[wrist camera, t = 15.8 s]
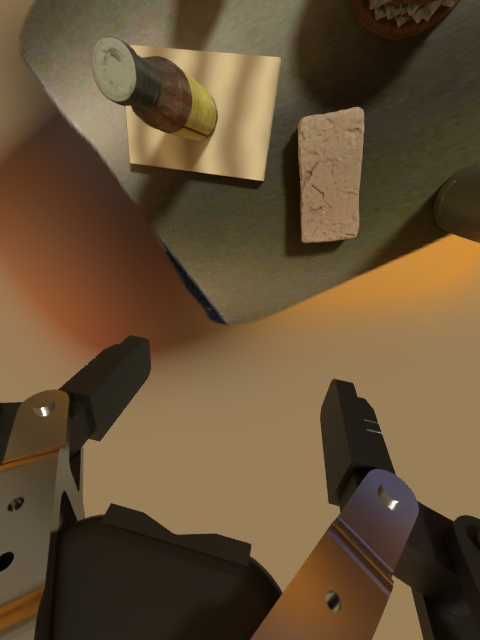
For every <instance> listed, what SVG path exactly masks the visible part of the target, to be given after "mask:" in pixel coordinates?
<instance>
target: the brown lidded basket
mask: <svg viewBox="0 0 480 640" xmlns="http://www.w3.org/2000/svg"><path fill="white" fill-rule="evenodd" d="M459 1H460V0H351V2H352V5H353V7H354V10H355V12H356V15H357V18H358V20H359V21H360V22H361V23H362V24H363V25H364V26H365V27H366V28H367V29H368V30H369V31H370V32H371V33H372V34H373V35H375V36H379V37H382V38H386V39H390V40H398V39H403V38H408V37H413V36H417V35H418V34H420V33H422V32H423V31H425V30H426V29H428V28H430V27H431V26H433V25H434V24H436V23H438V22H439V21H441V20H442V19H443V18H444V16H445V15H446V14H447V13H448V12H449V11H450V10H451V9H452V8H453V7H454V6H455V5H456V4H457V3H458V2H459Z"/></svg>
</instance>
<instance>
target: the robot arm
mask: <svg viewBox="0 0 480 640" xmlns="http://www.w3.org/2000/svg"><path fill="white" fill-rule="evenodd" d="M433 216H434V219H435V222H436V223H437V225H438V226H439V227H440V228H441V229H443V230H444V231H446V232H449V233H451V234H454V235H457V236H460V237H463V238H466V239H469V240H472V241H475V242H478V243H480V164H477V165H473V166H470V167H467V168H465V169H463V170H461V171H459V172H458V173H456V174H455V175H453V176H452V177H451V178H450V179H449V180H448V181H446V182H445V184H444V185H443V186H442V188H441V189H440V190H439V192H438V194H437V196H436V199H435V201H434V206H433ZM150 369H151V360H150V344H149V340H148V339H147V338H142V337H137V336H133V335H130V336H128V337H127V338H126V339H125V340H124V341H123V342H122V343H121V344H115V345H113V346H110V347H108V348H106V349H104V350H103V351H102V352H101V353H100V354H98V355H97V356H96V358H95V359H93V360H92V361H90V362H89V363H88V365H86V366H85V367H84V368H82V369H81V370H80V371H79V372H78V373H77V374H76V375H74V376H73V377H72V378H71V379H70V380H69V381H68V382H66V383H65V384H64V385H63V386H62V387H61V388H59V389H58V390H47V391H43V392H40V393H37V394H35V395H33V396H31V397H29V398H28V399H26V400H25V401H24V402H17V403H0V640H372V638H373V635H374V633H375V631H376V628H377V626H378V624H379V621H380V619H381V617H382V614H383V612H384V609H385V607H386V604H387V602H388V599H389V597H390V595H391V592H392V588H393V580H392V579H391V578H392V575H394V576H395V577H397V578H398V579H400V580H401V581H403V582H404V583H406V584H407V585H409V586H410V587H411V589H412V593H413V598H414V602H415V606H416V610H417V614H418V618H419V623H420V627H421V631H422V635H423V639H424V640H480V519H478V518H475V517H472V516H468V515H464V516H460V517H458V518H457V519H456V520H455V521H452V520H450V519H448V518H446V517H444V516H443V515H441V514H439V513H437V512H435V511H434V510H432V509H430V508H428V507H426V506H424V505H423V504H421V503H420V502H418V501H417V499H416V497H415V495H414V493H413V492H412V490H411V489H410V488H409V487H408V485H407V484H406V483H405V482H404V481H403V480H402V479H400V478H399V477H398V476H396V474H395V471H394V468H393V466H392V462H391V459H390V456H389V454H388V450H387V447H386V445H385V442H384V439H383V436H382V434H381V430H380V427H379V424H378V421H377V418H376V415H375V412H374V410H373V408H372V407H371V406H370V405H369V403H368V402H367V401H366V400H365V399H364V398H359V397H357V394H356V391H355V387H354V384H353V383H351V382H346V381H341V380H337V379H333V380H332V381H331V384H330V386H329V389H328V391H327V394H326V397H325V400H324V402H323V405H322V408H321V415H320V422H321V431H322V441H323V451H324V461H325V471H326V480H327V489H328V501H329V504H333V505H337V506H340V514H339V515H338V517H337V518H336V519H335V521H333V522H332V524H331V525H330V527H329V528H328V529H327V531H326V532H325V534H324V535H323V536H322V538H321V539H320V541H319V542H318V544H317V545H316V546H315V548H314V549H313V551H312V552H311V554H310V555H309V557H308V558H307V559H306V561H305V562H304V564H303V565H302V566H301V568H300V569H299V571H298V572H297V574H296V575H295V576H294V578H293V579H292V581H291V582H290V584H289V585H288V587H287V588H286V589H285V591H284V592H283V593H282V591H281V589H280V587H279V586H278V585H277V583H276V582H275V580H274V579H273V577H272V576H271V575H270V574H269V573H268V571H267V570H266V569H265V568H264V567H263V566H262V565H260V563H258V562H257V561H256V560H255V559H253V558H252V557H250V551H251V544H249V543H246V542H242V541H239V540H235V539H232V538H229V537H225V536H222V535H218V534H188V535H176V534H173V533H172V532H170V531H169V530H167V529H166V528H165V527H163V526H162V525H160V524H159V523H158V522H156V521H155V520H153V519H152V518H151V517H149V516H148V515H146V514H145V513H143V512H140V511H136V510H133V509H129V508H126V507H122V506H119V505H116V504H112V503H111V505H110V507H109V508H108V510H107V512H106V514H104V515H97V516H91V517H88V518H85V512H84V505H83V454H84V450H83V445H84V444H85V442H86V441H87V440H88V439H93V440H96V441H101V439H102V438H103V437H104V435H105V434H106V433H107V431H108V430H109V429H110V427H111V426H112V425H113V423H114V422H115V421H116V419H117V418H118V417H119V416H120V414H121V413H122V412H123V410H124V409H125V408H126V406H127V405H128V403H129V402H130V401H131V400H132V398H133V397H134V396H135V394H136V393H137V392H138V390H139V389H140V388H141V386H142V385H143V384H144V382H145V381H146V380H147V378H148V376H149V374H150Z"/></svg>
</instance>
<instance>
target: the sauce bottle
mask: <svg viewBox="0 0 480 640" xmlns="http://www.w3.org/2000/svg"><path fill="white" fill-rule="evenodd" d="M92 70H93V75H94V79H95V82H96V84H97V86H98V88H99V90H100V91H101V92H102V94H103V95H104V96H105V97H107V98H108V99H109V100H111V101H113V102H115V103H117V104H120V105H123V106H131V107H132V111H133V112H134V113H135V114H136V115H137V116H138V117H139V118H140V119H141V120H142V121H143V122H144V123H146V124H147V125H148V126H150V127H152V128H155V129H158V130H160V131H162V132H165V133H168V134H172V135H176V136H179V137H182V138H185V139H189V140H193V141H200V140H204V139H206V138H208V137H210V136H211V135H212V134H213V132H214V130H215V128H216V125H217V121H218V111H217V107H216V104H215V101H214V99H213V98H212V96H211V95H210V94H209V92H208V91H207V90H206V89H205V88H204V87H202V86H201V85H200V84H199V83H198V82H196V81H195V80H194V79H193V78H192V77H190V76H189V75H188V74H187V73H186V72H184V71H183V70H182V69H181V68H180V67H178V66H177V65H176V64H175V63H173V62H172V61H170V60H168V59H166V58H164V57H160V56H151V57H143V58H142V57H140V56H139V55H137V54H136V52H135V50H134V49H133V48H132V47H131V46H130V45H128V44H126V43H125V42H123V41H121V40H120V39H118V38H115V37H105V38H102V39H101V40H100V41H98V42H97V44H96V45H95V47H94V50H93V55H92Z"/></svg>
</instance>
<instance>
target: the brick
mask: <svg viewBox="0 0 480 640" xmlns="http://www.w3.org/2000/svg"><path fill="white" fill-rule="evenodd" d="M363 135H364V110H363V109H361V108H360V107H353V108H349V109H347V110H339V111H337V112H329V113H326V114H317V115H312V116H307V117H304V118H302V119H301V121H300V122H299V124H298V159H299V174H300V188H301V193H300V198H301V199H300V213H301V215H300V216H301V241H302V242H304V243H311V242H327V241H335V240H343V239H350V238H355V237H356V236H357V233H358V229H359V187H360V177H361V164H362V153H363Z"/></svg>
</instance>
